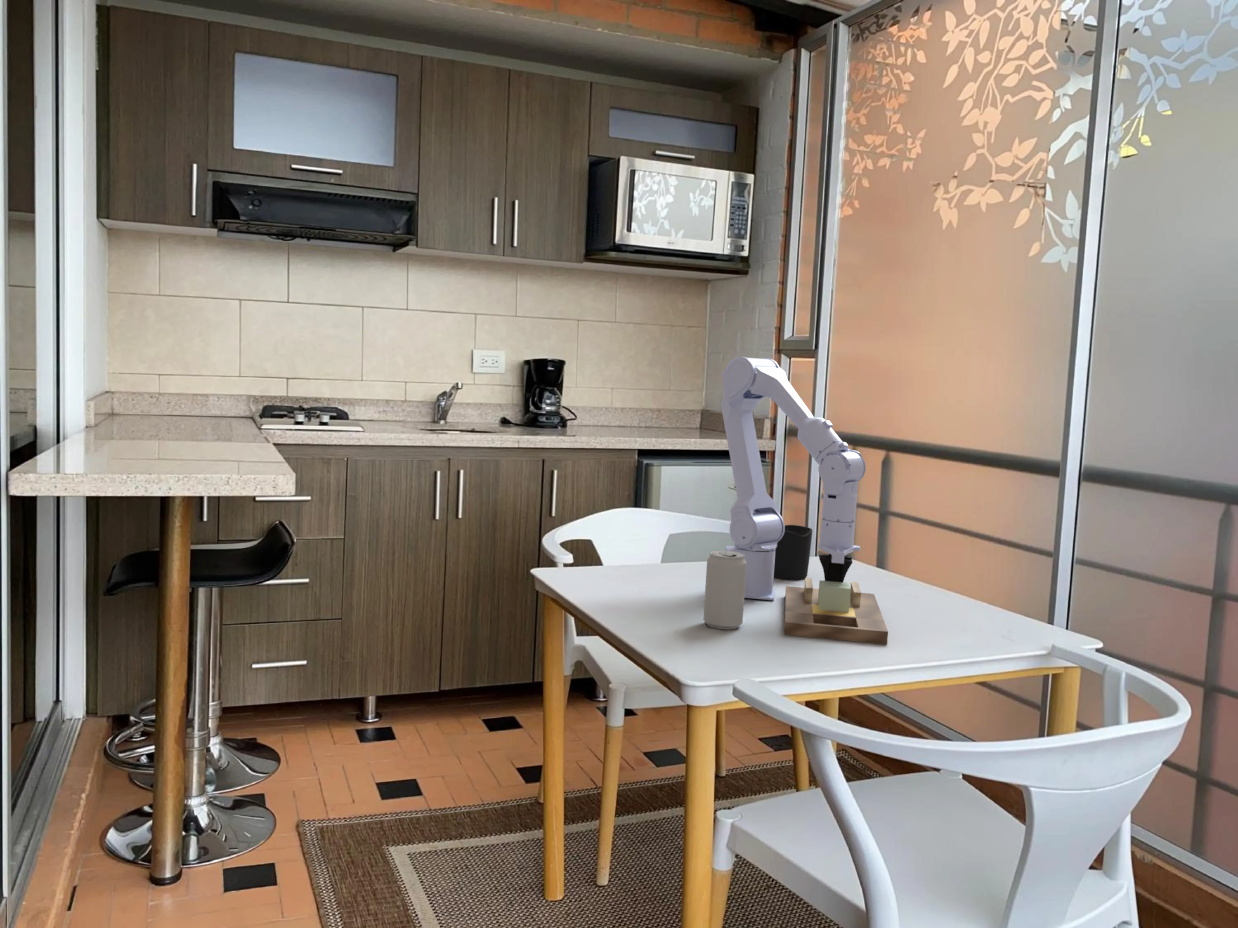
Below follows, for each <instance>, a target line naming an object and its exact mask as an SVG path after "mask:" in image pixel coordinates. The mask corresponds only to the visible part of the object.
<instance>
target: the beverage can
mask: <svg viewBox="0 0 1238 928" xmlns="http://www.w3.org/2000/svg"><path fill="white" fill-rule="evenodd" d="M744 557H745V555H744V554H742V553H739V552H733V551H726V550H713V551H709V557H708V558H707V560H706V572H705V573H706V574H705V585H704V586H705V590H704V601H703V603H704V604H703V606H704V607H703V622H704V623H705V624H707V626H708V627H710V628H714V629H718V630H724V631H725V630H735V629H738V628H739V626H742V624H743V622H744V620H743V619H744V608H745V607H744V604H745V598H744V594H745V578H746V561H745V559H744Z"/></svg>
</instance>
